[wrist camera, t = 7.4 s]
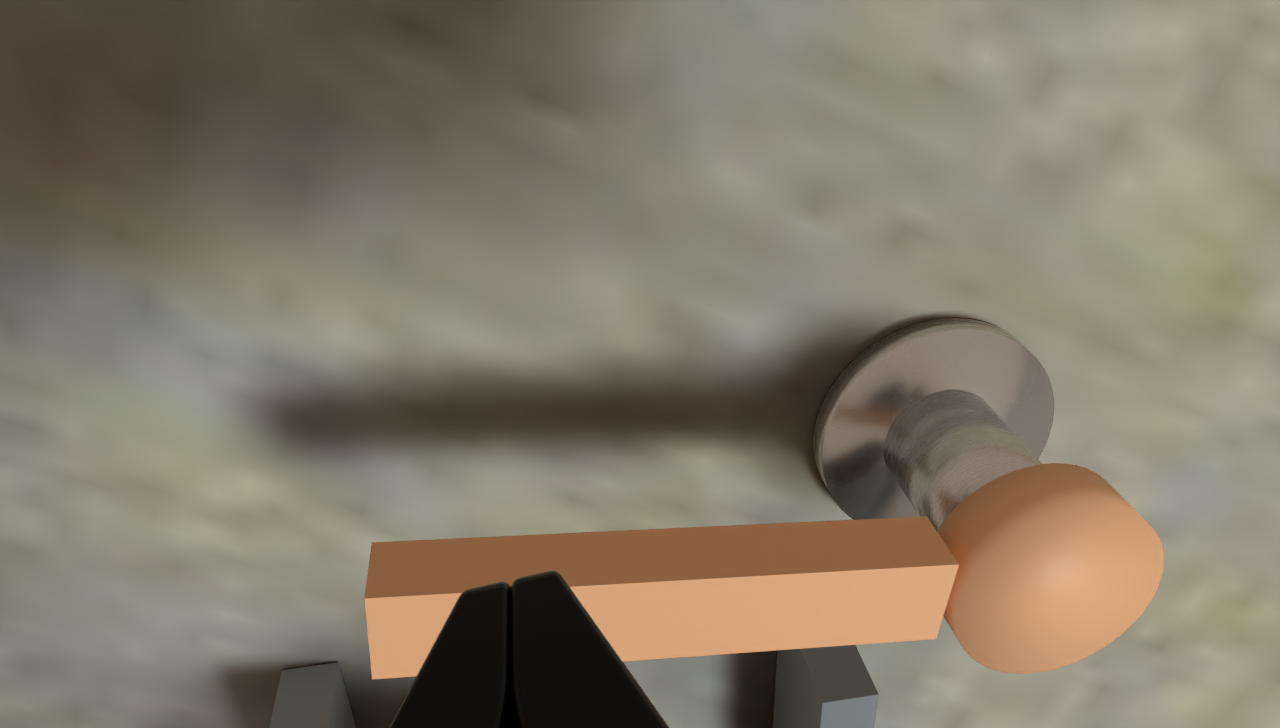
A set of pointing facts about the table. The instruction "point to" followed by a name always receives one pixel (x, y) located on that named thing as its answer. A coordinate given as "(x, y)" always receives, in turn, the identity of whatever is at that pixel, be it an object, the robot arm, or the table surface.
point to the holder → (803, 705)
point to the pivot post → (931, 419)
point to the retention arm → (815, 579)
